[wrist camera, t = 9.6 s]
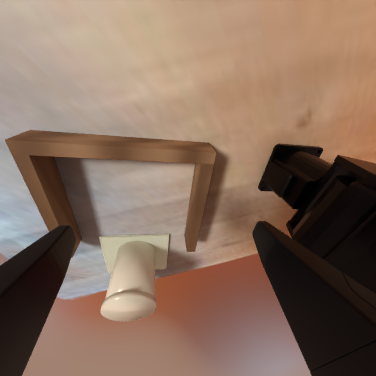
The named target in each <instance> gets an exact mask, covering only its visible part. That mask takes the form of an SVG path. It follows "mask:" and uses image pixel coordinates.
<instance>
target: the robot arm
mask: <svg viewBox="0 0 376 376" xmlns="http://www.w3.org/2000/svg"><path fill="white" fill-rule="evenodd" d="M279 147H280V148H279ZM278 148H279V149H278ZM317 151H318V152H317ZM322 152H323V149H322V148H321V147H315V146H302V145H289V144H277V145H276V146H275V147H274V149H273V152H272V154H271V156H270V159H269V161H268V164H267V166H266V169H265V171H264V174H263V176H262V179H261V181H260V183H259V186H258V189H259V190H260V191H274V192H275V193H276V194H277V195H278V196H279V197H281V198H282V199H283V200H284V201H285V202H286V203H287V204H288V205H289V206H290V207H291V208H292V209H297V212H296V213H295V214H294V216H293V217H292V218H291V220H290V221H288V222H287V224H286V226H287V228H288V230H289V232H290V234H291V237H292V238H290V237H289V236H287V235H286V234H284V233H283V232H281V231H280V230H278V229H277V228H275V227H274V226H272V225H271V224H269V223H268V222H266V221H259V222H257V224H256V226H255V228H254V230H253V238H254V241H255V244H256V247H257V250H258V253H259V256H260V259H261V262H262V264H263V267H264V269H265V271H266V274H267V276H268V278H269V280H270V283H271V285H272V287H273V289H274V292H275V294H276V296H277V298H278V301H279V303H280V305H281V307H282V309H283V312H284V314H285V316H286V319H287V321H288V323H289V325H290V327H291V330H292V332H293V334H294V336H295V339H296V341H297V343H298V345H299V348H300V350H301V352H302V355H303V357H304V359H305V361H306V364H307V366H308V368H309V370H310V373H311V375H312V376H376V164H375V163H371V162H367V161H362V160H358V159H354V158H349V157H345V156H341V155H338V156H337V157H336V158H335V160H334V161H335V162H334V163H333V164H330V163H328V162H326V161H324V160H322V159H320V158H319V157H320V155H321V154H322ZM75 243H76V236H75V233H74V231H73V228H72V226H71V225H59V226H58V227H56V228H55V229H53V230H52V231H50V232H49V233H47V234H46V235H44V236H43V237H41V238H40V239H38V240H37V241H36V242H34V243H33V244H31V245H30V246H28V247H27V248H25V249H24V250H22V251H21V252H19V253H18V254H16V255H15V256H14V257H12V258H11V259H9V260H8V261H6V262H5V263H3V264H2V265H0V376H22V374H23V372H24V370H25V367H26V365H27V363H28V361H29V358H30V356H31V354H32V351H33V349H34V347H35V345H36V342H37V340H38V337H39V335H40V333H41V331H42V328H43V326H44V324H45V322H46V319H47V317H48V315H49V312H50V310H51V308H52V305H53V303H54V301H55V299H56V296H57V294H58V292H59V290H60V287H61V285H62V283H63V280H64V278H65V275H66V272H67V269H68V266H69V263H70V259H71V256H72V253H73V250H74V247H75Z"/></svg>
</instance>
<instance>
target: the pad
mask: <svg viewBox="0 0 376 376" xmlns="http://www.w3.org/2000/svg"><path fill="white" fill-rule="evenodd" d="M99 239H100V243H101V247H102V251H103V255H104V259H105V262H106V266H107V270H108V273H112V271H113V267H114V263H115V259H116V255H117V251H118V248H119V247H120V246H121V245H123V244H124V243H126V242H130V241H144V242H148V243H150V244H151V245H153V246H154V248H155V250H156V267H155V270H157V269H166V268H167V255H168V242H169V234H149V235H115V236H99Z"/></svg>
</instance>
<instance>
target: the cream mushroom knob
mask: <svg viewBox="0 0 376 376" xmlns="http://www.w3.org/2000/svg"><path fill="white" fill-rule="evenodd" d="M155 267H156V250H155V248H154V246H153V245H151V244H150V243H148V242H144V241H130V242H126V243H124V244H123V245H121V246H120V247H119V248H118V251H117V255H116V259H115V263H114V267H113V271H112V275H111V279H110V283H109V287H108V291H107V295H106V299H105V300H104V301H103V304H102V307H101V314H102V315H103V316H104V317H105V318H107V319H110V320H114V321H134V320H138V319H142V318H145V317H147V316H149V315H151V314H152V313H153V312H154V311H155V310H156V299H155Z"/></svg>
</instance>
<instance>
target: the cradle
mask: <svg viewBox="0 0 376 376" xmlns="http://www.w3.org/2000/svg"><path fill="white" fill-rule="evenodd" d="M5 141H6V144H7V146H8V148H9V150H10V152H11V154H12V156H13V158H14V160H15V162H16V164H17V166H18V168H19V170H20V172H21V174H22V177H23V179H24V181H25V183H26V185H27V187H28V189H29V191H30V193H31V195H32V197H33V199H34V201H35V203H36V205H37V207H38V210H39V212H40V214H41V216H42V218H43V220H44V222H45V224H46V226H47V228H48V230H49V232H50V231H52V230H53V229H55V228H56V227H58V226H59V225H71V226H72V228H73V231H74V233H75V236H76V243H75V247H74V250H73V253H72V256H71V258H72V257H73V255H74V253H75V251H76V249H77V247H78V245H79V243H80V241H81V236H80V233H79V230H78V227H77V224H76V221H75V218H74V216H73V213H72V210H71V207H70V204H69V201H68V198H67V195H66V192H65V189H64V187H63V184H62V181H61V178H60V175H59V172H58V169H57V166H56V163H55V160H54V158H53V156H55V157H76V158H97V159H118V160H138V161H159V162H180V163H195V169H194V176H193V182H192V189H191V195H190V202H189V209H188V215H187V222H186V229H185V235H184V236H185V242H186V249H187V252H194V251H195V249H196V245H197V240H198V235H199V231H200V226H201V222H202V217H203V212H204V208H205V203H206V199H207V194H208V189H209V185H210V180H211V176H212V171H213V166H214V162H215V157H216V152H215V150H214V149H213V148H212V146H211V145H210V144H209V143H204V142H190V141H176V140H162V139H148V138H134V137H120V136H106V135H92V134H78V133H64V132H50V131H36V130H29V131H26V132H24V133H21V134H19V135H16V136H13V137H11V138H8V139H6V140H5Z"/></svg>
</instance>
